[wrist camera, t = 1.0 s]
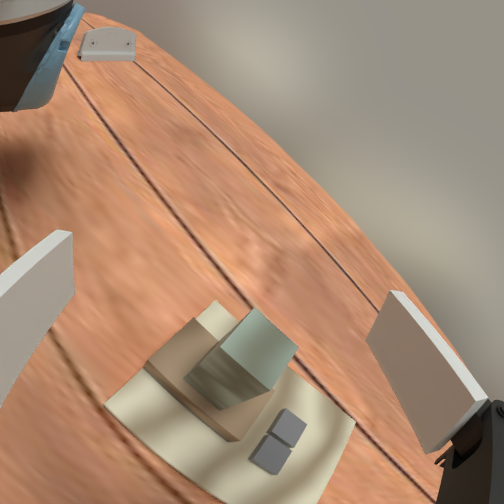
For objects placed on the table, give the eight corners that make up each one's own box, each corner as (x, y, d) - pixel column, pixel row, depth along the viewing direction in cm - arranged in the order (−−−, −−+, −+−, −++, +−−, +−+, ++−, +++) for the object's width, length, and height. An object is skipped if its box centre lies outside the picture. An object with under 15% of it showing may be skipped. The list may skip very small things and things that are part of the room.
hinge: (79, 61, 52) (86, 25, 47) (75, 61, 54) (81, 27, 49) (136, 61, 64) (143, 28, 58) (129, 60, 66) (135, 29, 61)
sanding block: (143, 368, 23) (170, 320, 16) (185, 328, 28) (230, 268, 21) (228, 442, 22) (298, 431, 15) (261, 396, 27) (333, 363, 20)
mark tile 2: (266, 432, 24) (271, 431, 24) (280, 409, 27) (286, 408, 26) (288, 448, 24) (294, 447, 24) (301, 425, 26) (307, 424, 26)
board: (103, 406, 21) (103, 403, 20) (210, 306, 32) (215, 299, 31) (286, 535, 19) (295, 538, 18) (347, 424, 30) (355, 421, 29)
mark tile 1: (247, 459, 22) (252, 459, 21) (264, 435, 24) (269, 434, 24) (271, 475, 22) (277, 475, 21) (286, 451, 24) (292, 450, 23)
